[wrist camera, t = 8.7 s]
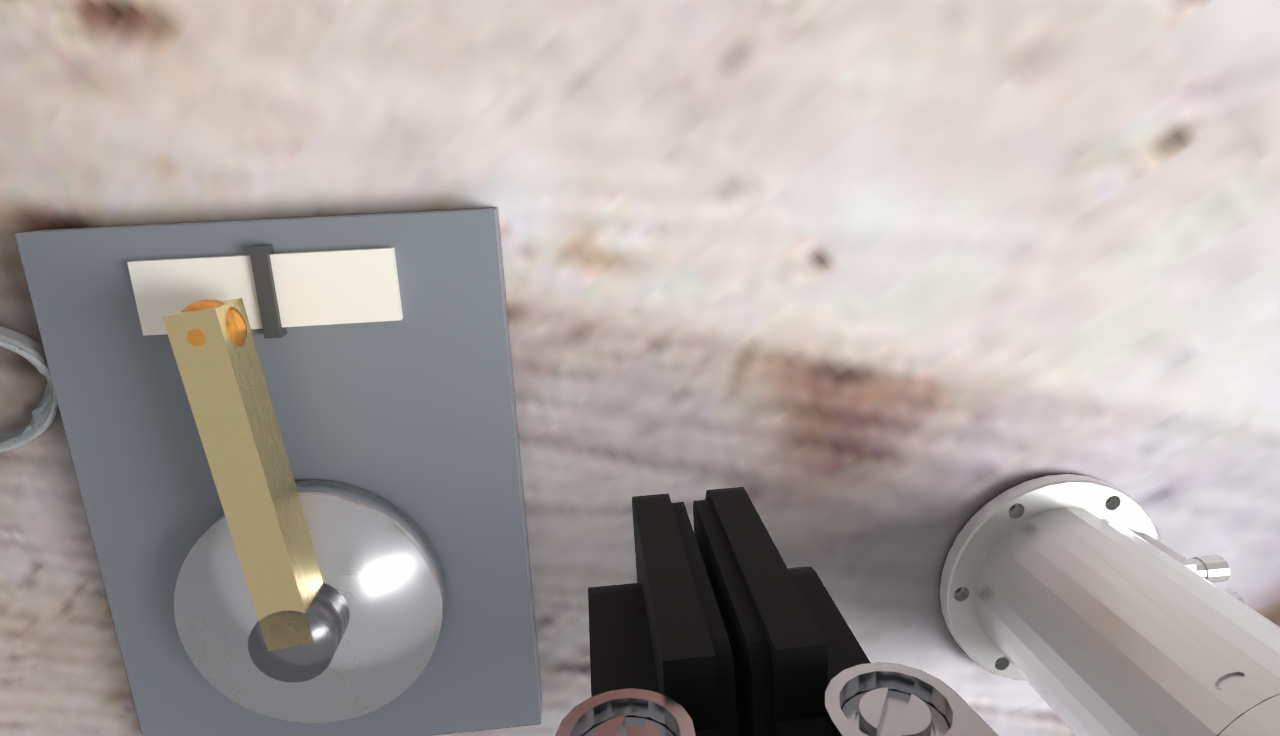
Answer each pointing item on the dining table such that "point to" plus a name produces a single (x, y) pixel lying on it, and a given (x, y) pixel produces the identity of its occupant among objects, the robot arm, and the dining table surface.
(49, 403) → the ceramic mug
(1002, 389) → the dining table surface
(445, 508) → the stand
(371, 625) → the dial lever
